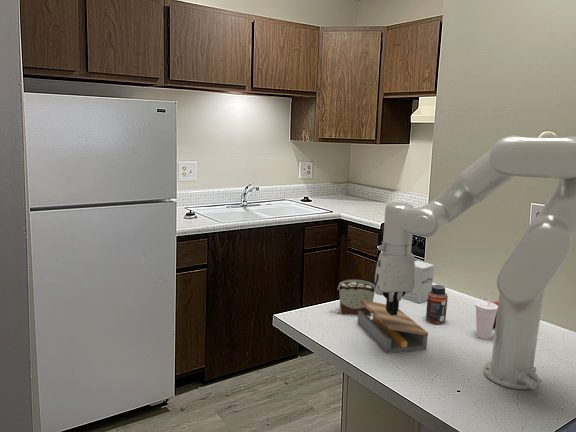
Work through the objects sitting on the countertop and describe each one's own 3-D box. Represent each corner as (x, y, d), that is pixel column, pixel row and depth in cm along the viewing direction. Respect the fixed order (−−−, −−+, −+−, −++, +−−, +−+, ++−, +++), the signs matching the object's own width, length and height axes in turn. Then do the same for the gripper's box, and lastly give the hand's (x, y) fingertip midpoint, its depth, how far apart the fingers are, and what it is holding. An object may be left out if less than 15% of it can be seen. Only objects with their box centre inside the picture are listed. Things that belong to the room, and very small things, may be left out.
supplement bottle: (447, 325, 158) (451, 290, 155) (428, 324, 158) (431, 289, 156) (442, 317, 164) (445, 283, 161) (423, 316, 164) (426, 283, 161)
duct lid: (427, 335, 141) (428, 332, 140) (389, 329, 137) (390, 326, 137) (394, 308, 159) (394, 305, 159) (359, 302, 156) (360, 299, 156)
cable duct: (426, 349, 141) (427, 335, 141) (386, 353, 138) (387, 339, 137) (393, 320, 160) (394, 308, 159) (357, 323, 157) (358, 311, 156)
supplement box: (419, 304, 175) (422, 268, 172) (401, 297, 180) (404, 263, 178) (431, 299, 179) (435, 264, 177) (414, 293, 185) (417, 259, 182)
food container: (373, 309, 169) (375, 280, 167) (375, 316, 163) (377, 286, 161) (336, 307, 170) (337, 278, 168) (336, 314, 164) (337, 284, 162)
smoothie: (497, 342, 147) (502, 295, 144) (473, 339, 148) (478, 293, 145) (492, 332, 153) (498, 288, 150) (470, 330, 154) (475, 286, 151)
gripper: (377, 254, 132) (372, 321, 135) (429, 251, 136) (423, 316, 139) (365, 246, 139) (361, 310, 142) (415, 244, 143) (409, 306, 146)
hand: (391, 313), depth 141 cm, fingers closed
